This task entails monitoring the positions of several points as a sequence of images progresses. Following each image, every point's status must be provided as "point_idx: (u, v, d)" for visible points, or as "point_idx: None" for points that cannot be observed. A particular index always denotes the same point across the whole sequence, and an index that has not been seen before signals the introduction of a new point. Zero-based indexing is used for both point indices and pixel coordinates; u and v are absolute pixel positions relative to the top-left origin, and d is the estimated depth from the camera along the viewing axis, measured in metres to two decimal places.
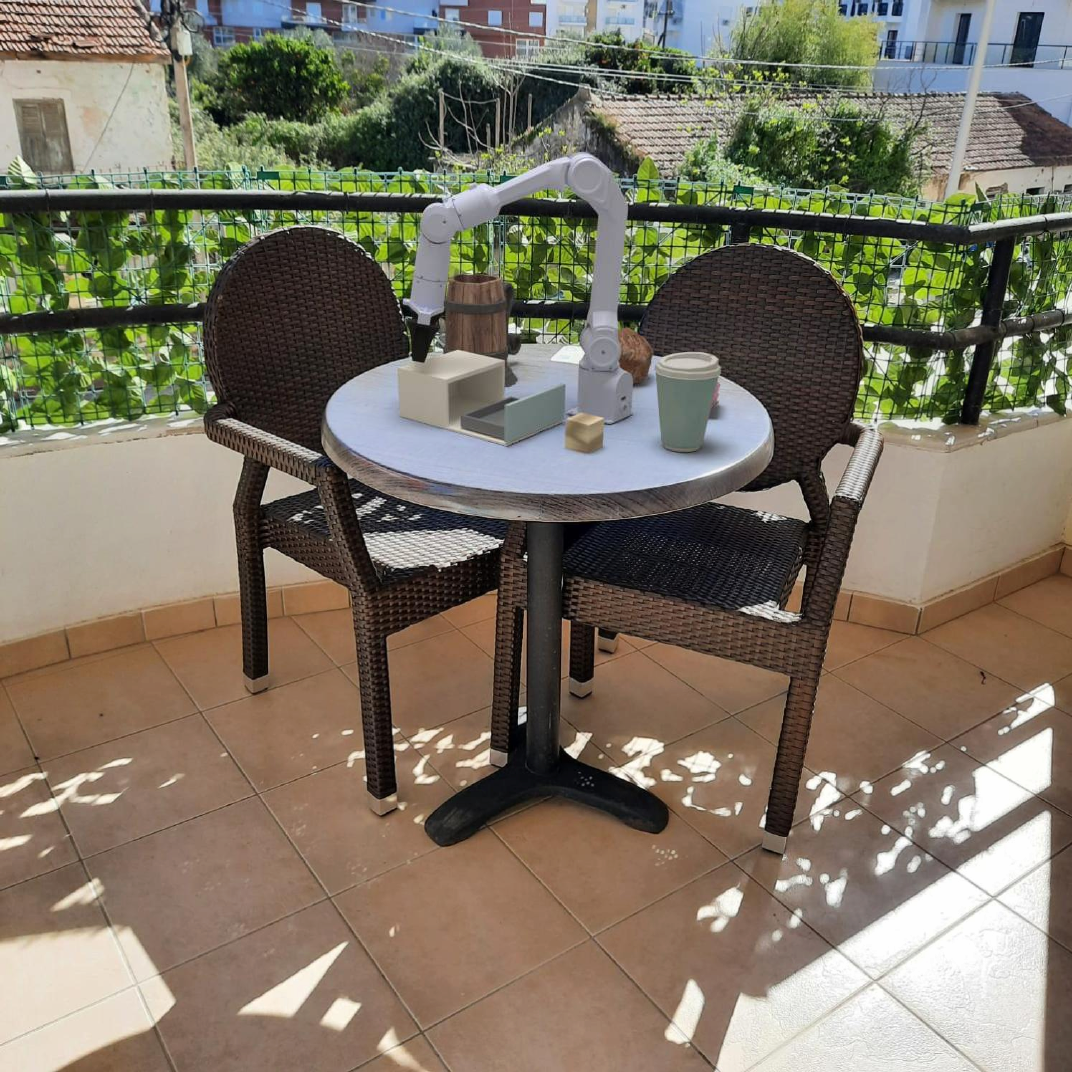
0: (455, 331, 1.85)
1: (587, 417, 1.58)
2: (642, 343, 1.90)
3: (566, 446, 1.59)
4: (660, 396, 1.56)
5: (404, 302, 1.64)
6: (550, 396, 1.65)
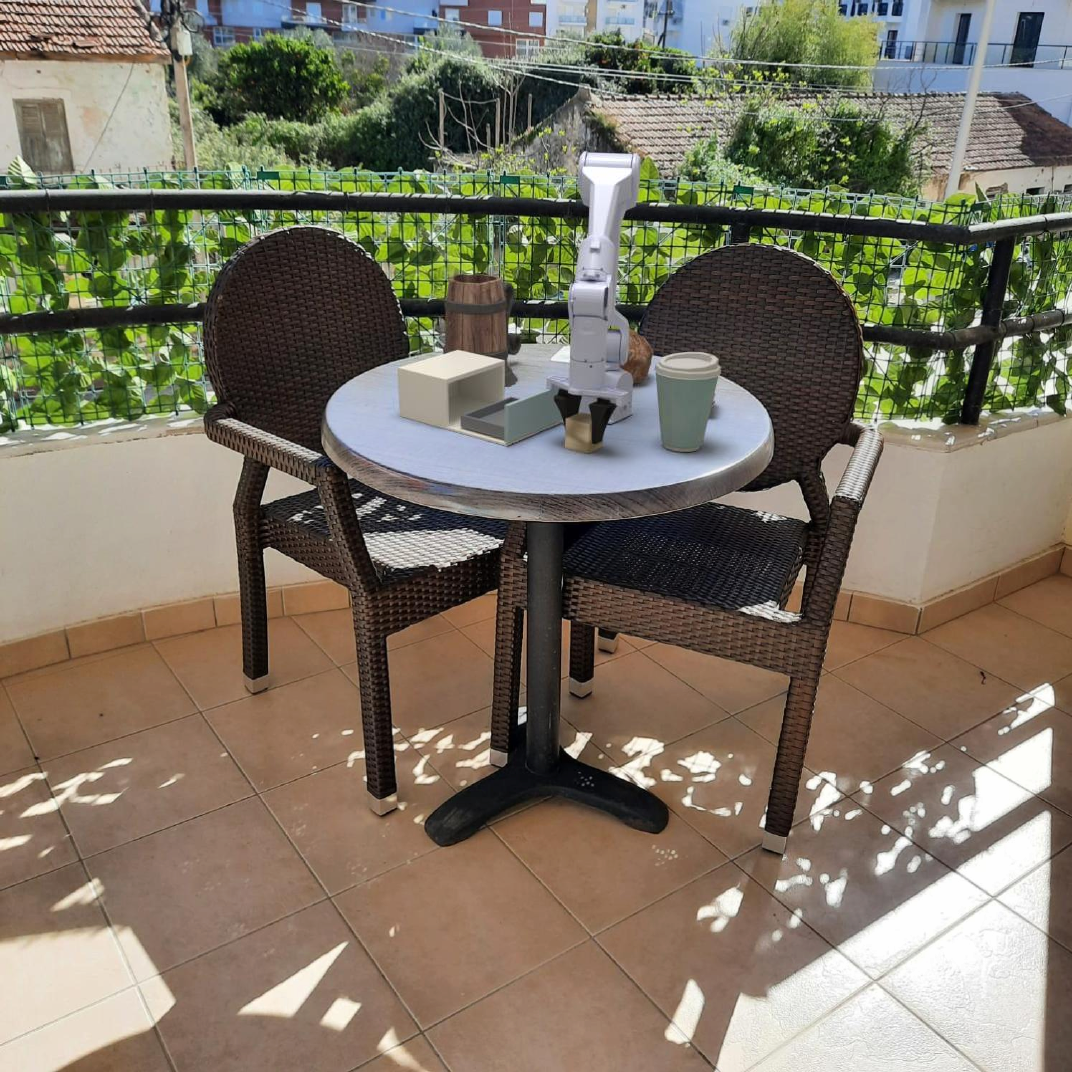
0: (455, 331, 1.85)
1: (587, 417, 1.58)
2: (642, 343, 1.90)
3: (566, 445, 1.59)
4: (660, 396, 1.56)
5: (578, 392, 1.52)
6: (550, 396, 1.65)
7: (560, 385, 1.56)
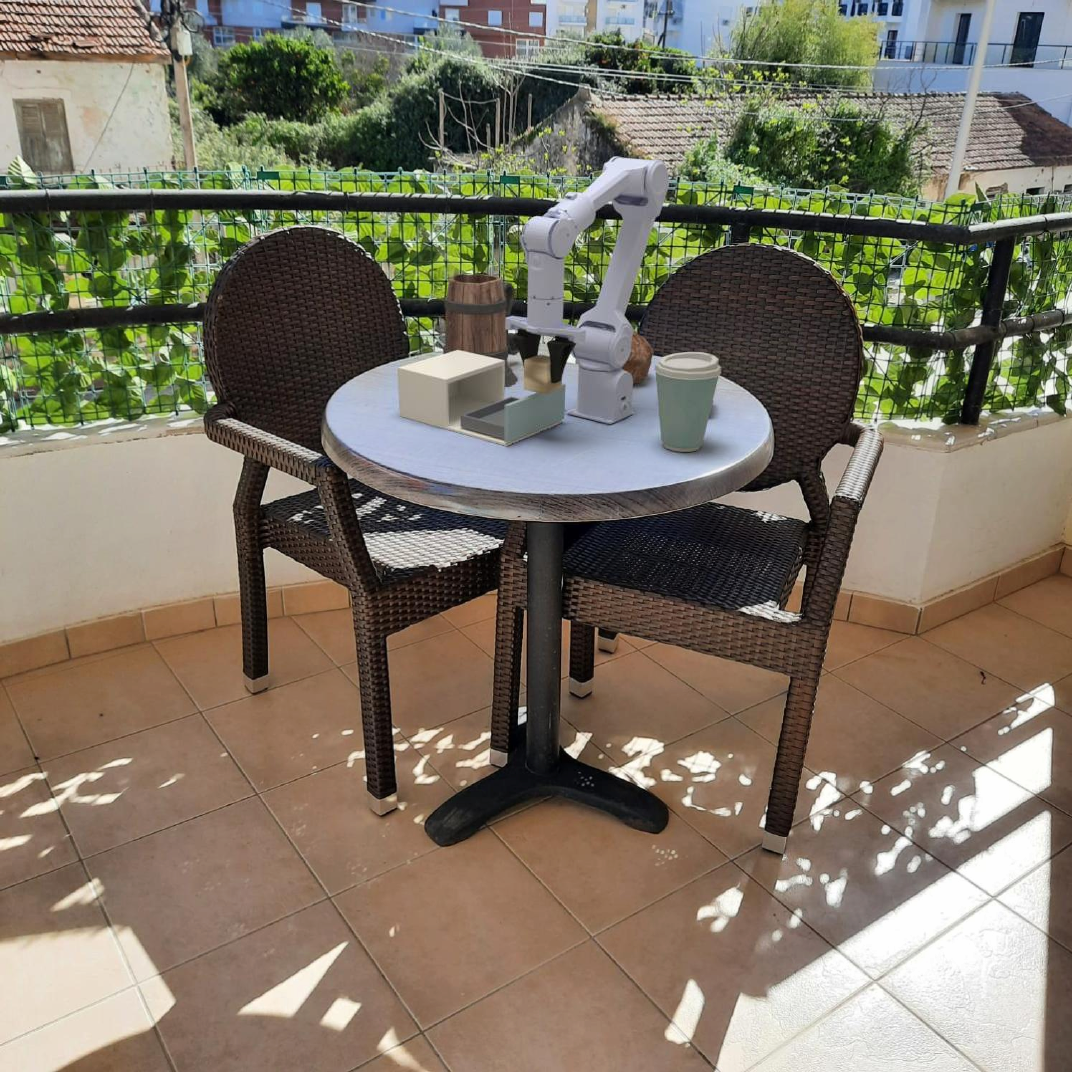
0: (455, 331, 1.85)
1: (546, 358, 1.59)
2: (642, 343, 1.90)
3: (525, 387, 1.59)
4: (660, 396, 1.56)
5: (536, 330, 1.53)
6: (550, 396, 1.65)
7: (519, 324, 1.57)
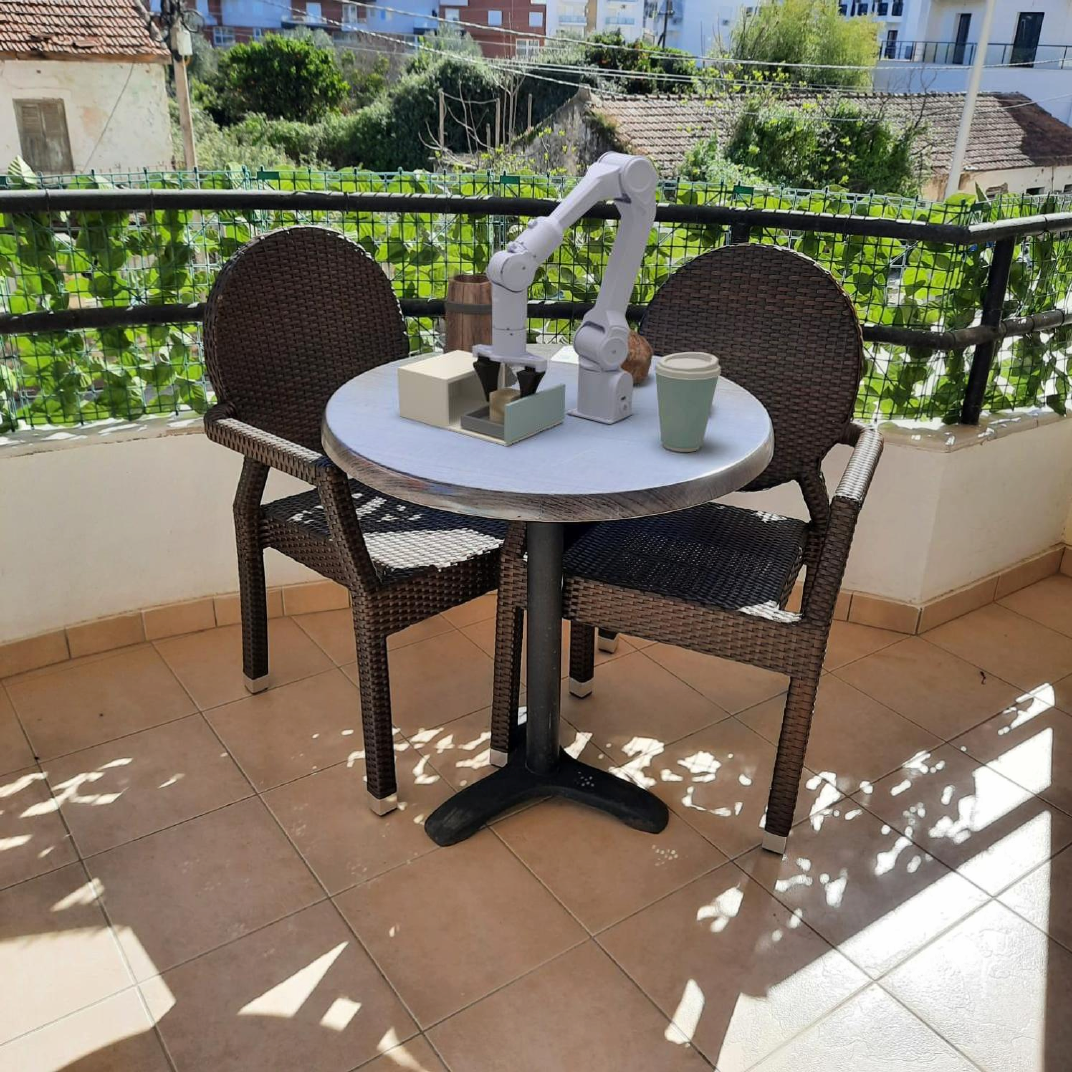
0: (455, 331, 1.85)
1: (511, 391, 1.66)
2: (642, 343, 1.90)
3: (491, 419, 1.66)
4: (660, 396, 1.56)
5: (499, 359, 1.59)
6: (550, 396, 1.65)
7: (484, 353, 1.63)
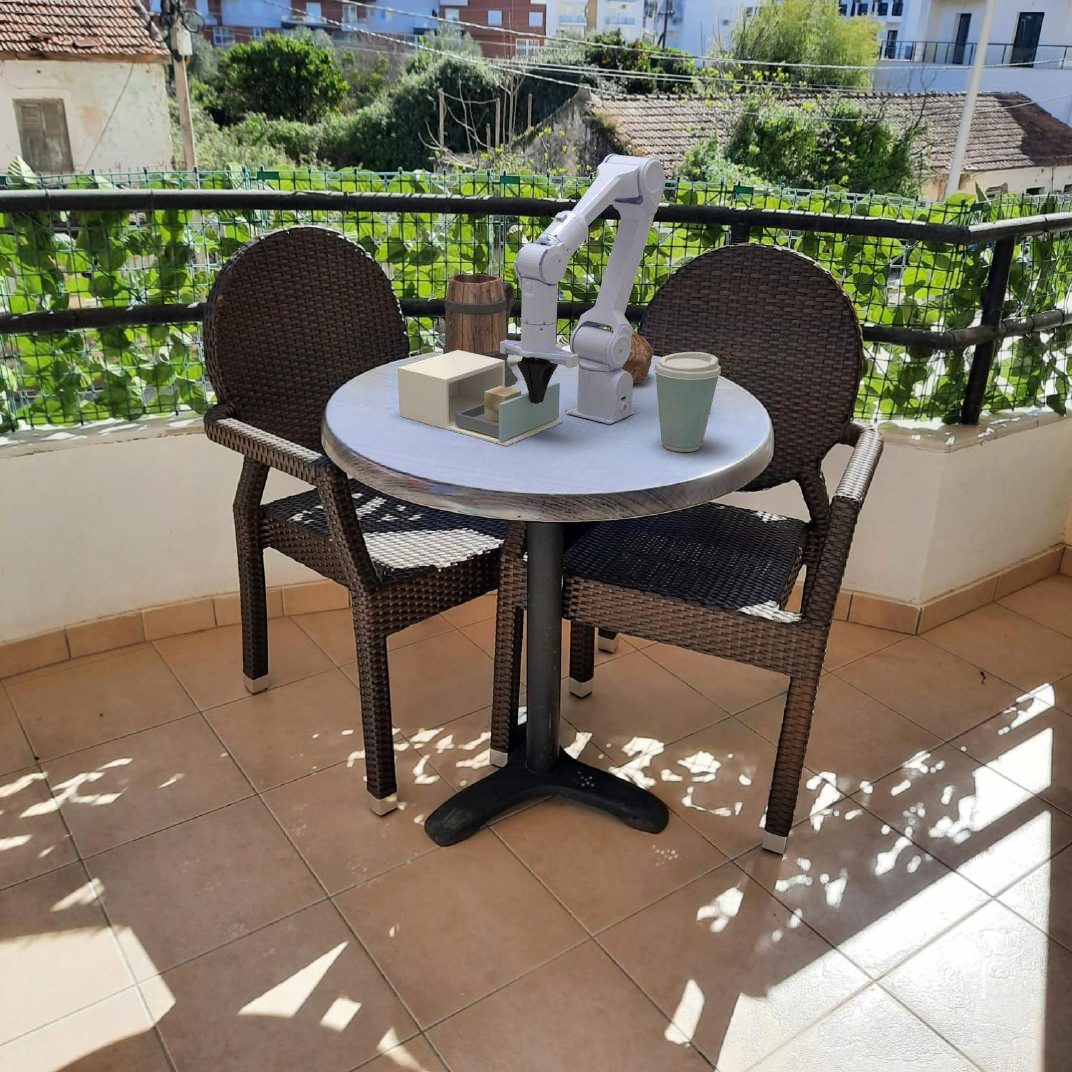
0: (455, 331, 1.85)
1: (505, 390, 1.66)
2: (642, 343, 1.90)
3: (485, 417, 1.67)
4: (660, 396, 1.56)
5: (529, 355, 1.55)
6: (545, 395, 1.65)
7: (512, 348, 1.59)
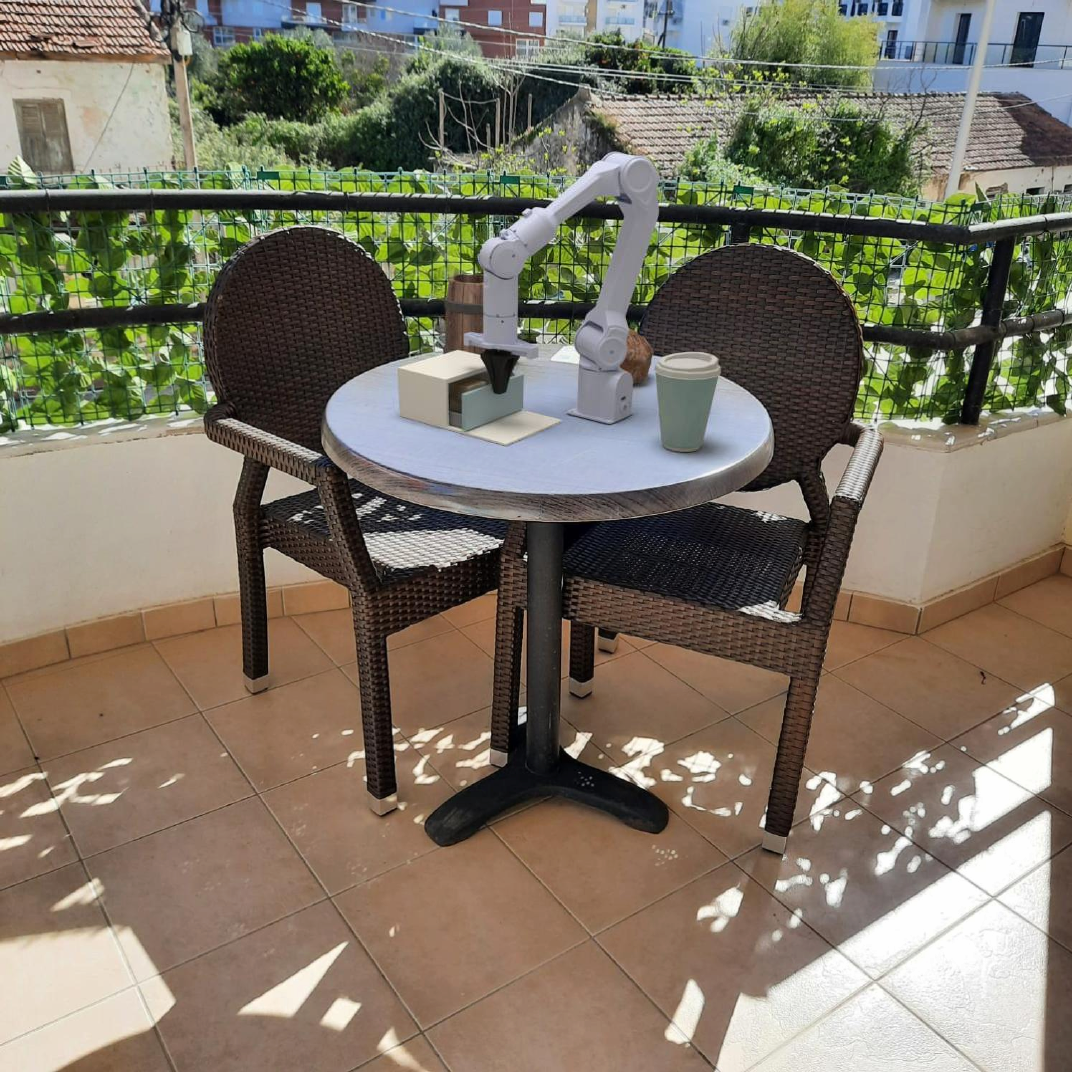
0: (455, 331, 1.85)
1: (470, 381, 1.70)
2: (642, 343, 1.90)
3: (451, 408, 1.71)
4: (660, 396, 1.56)
5: (490, 346, 1.59)
6: (508, 386, 1.70)
7: (475, 340, 1.63)
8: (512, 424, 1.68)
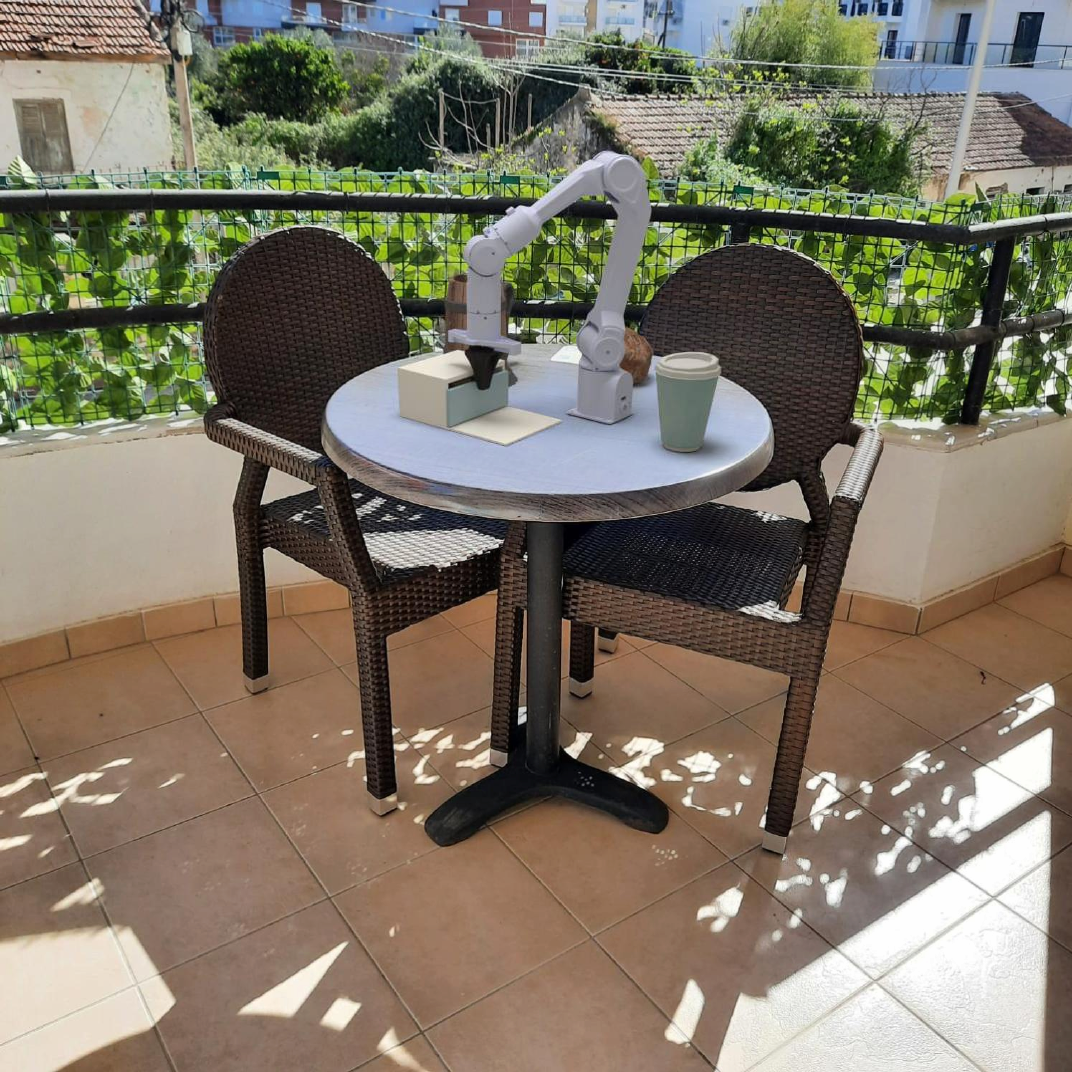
0: None
1: None
2: (642, 343, 1.90)
3: None
4: (660, 396, 1.56)
5: (474, 343, 1.61)
6: (493, 382, 1.71)
7: (459, 337, 1.65)
8: (512, 424, 1.68)
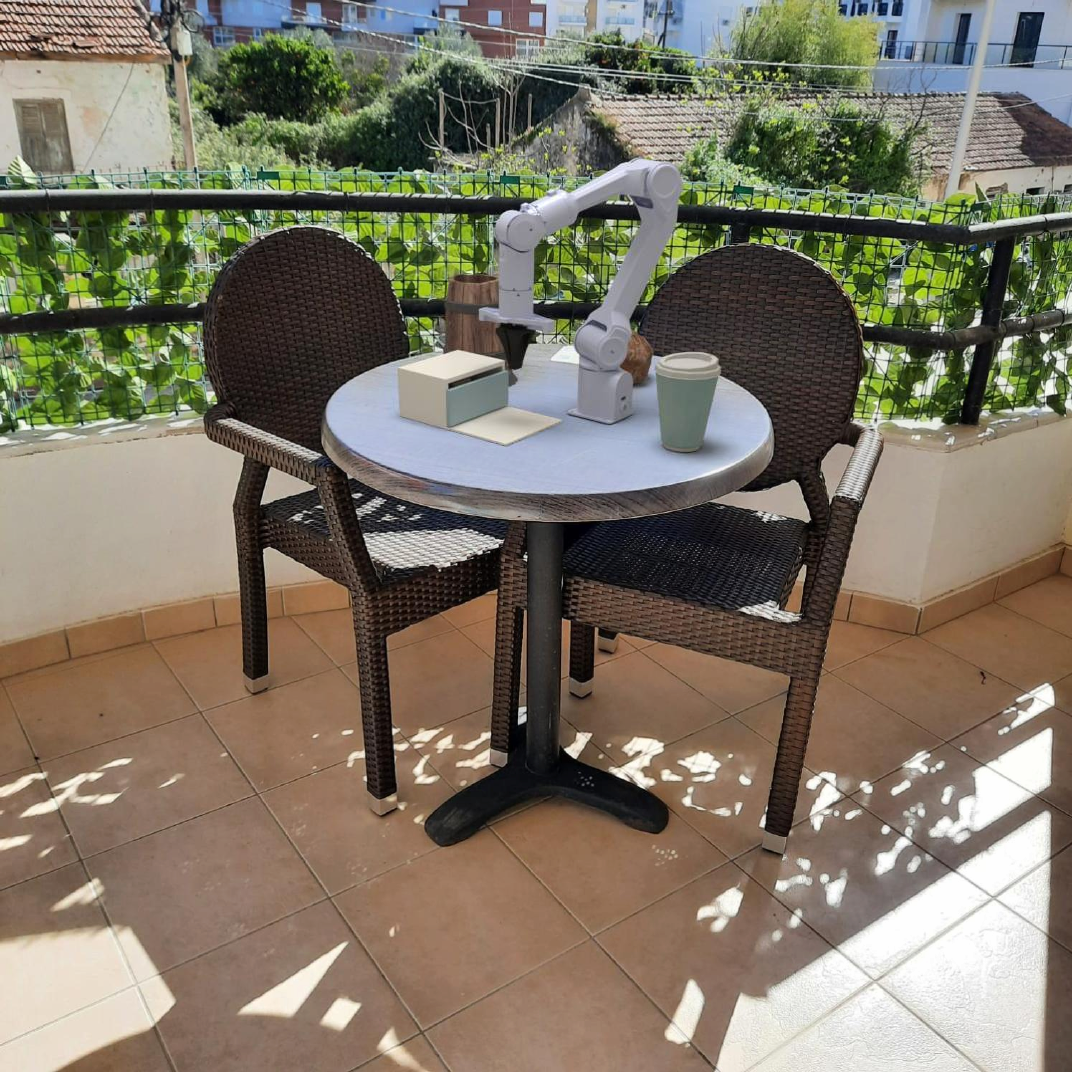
0: (455, 331, 1.85)
1: None
2: (642, 343, 1.90)
3: None
4: (660, 396, 1.56)
5: (506, 320, 1.58)
6: (493, 382, 1.71)
7: (491, 315, 1.62)
8: (512, 424, 1.68)
